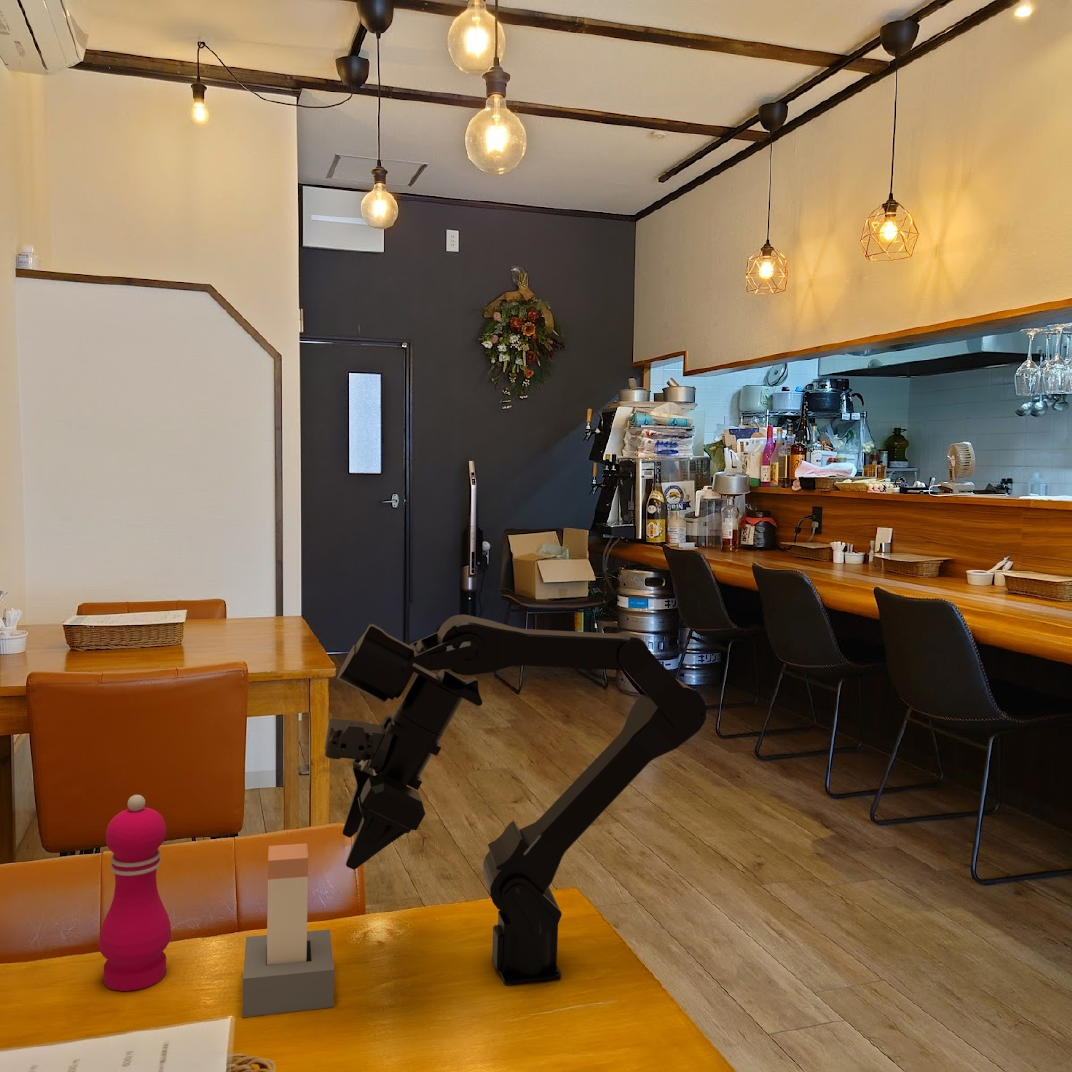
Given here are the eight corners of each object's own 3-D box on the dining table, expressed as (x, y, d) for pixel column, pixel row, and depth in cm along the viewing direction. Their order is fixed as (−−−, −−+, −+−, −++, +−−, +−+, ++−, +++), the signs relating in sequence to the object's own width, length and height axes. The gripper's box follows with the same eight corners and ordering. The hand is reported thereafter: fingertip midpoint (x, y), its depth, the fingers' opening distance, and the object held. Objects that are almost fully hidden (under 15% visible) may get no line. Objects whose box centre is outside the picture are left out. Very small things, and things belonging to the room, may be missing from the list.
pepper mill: (145, 998, 99) (146, 809, 98) (83, 989, 100) (84, 802, 99) (184, 964, 106) (185, 787, 105) (126, 956, 107) (127, 781, 106)
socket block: (329, 963, 107) (329, 929, 107) (333, 1007, 98) (334, 969, 98) (245, 972, 104) (246, 936, 104) (242, 1017, 96) (242, 978, 96)
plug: (304, 977, 104) (307, 843, 103) (305, 997, 100) (308, 857, 99) (266, 981, 103) (268, 845, 102) (266, 1001, 99) (268, 860, 98)
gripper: (350, 671, 110) (282, 791, 109) (359, 708, 92) (277, 852, 91) (433, 714, 113) (367, 832, 112) (458, 758, 95) (379, 899, 93)
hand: (347, 850), depth 102 cm, fingers open, 9 cm apart
